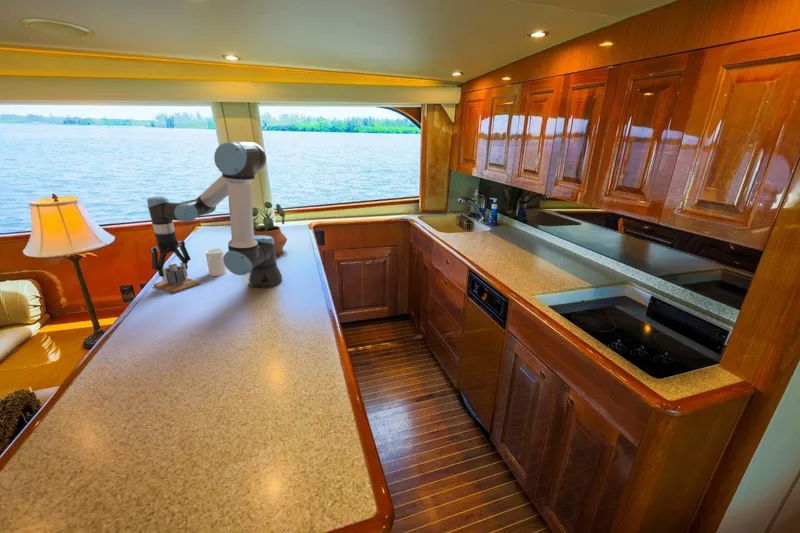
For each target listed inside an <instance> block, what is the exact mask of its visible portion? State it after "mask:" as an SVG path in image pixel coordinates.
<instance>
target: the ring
mask: <svg viewBox="0 0 800 533" xmlns="http://www.w3.org/2000/svg"><path fill="white" fill-rule="evenodd" d="M177 268H178V270H177V271H173V272H170V270H169V267H166V268H164V269H165V272H166V276H167V280H168V283H177V282H181V281H184V280H185V279H186V278H188V276H187V277H186V272H185V268H184V267H181V265H180V266H179V265H177Z"/></svg>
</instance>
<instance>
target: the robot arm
mask: <svg viewBox="0 0 800 533" xmlns="http://www.w3.org/2000/svg"><path fill="white" fill-rule="evenodd" d="M213 156H214V157H213V160H214V163H215V167H216V168H218V170H219V172H220V173H221V174H222V175H221V176H219V177H218V178H217V179H216V180H215V181H214V182H213V183H212V184H210V186H208V187H207V188H206V189H205V190H204V191H203V192H202V193H201V194H200V195H199V196H198V197H197V198H195V199H191V200H187V201H183V202H182V201H181V202H170V201H169V199H168V197H166V196H151V197H148V198H147V199H146V201H147V208H148V212H149V216H150V220H151V224H152V228H153V231H154V237H155V241H156V244H157V245H156V246H154V247H150V249H149V250H150V252H151V268H152V270H155V271H157V273H158V276H159V277H161V281H163V282H164V283H168V280H167V276H166V272H165V269H166V268H164V266H165V261H166V258H167V255H168V254H170V253H174V255H175V256H176V257H177V259H179V260H180V261H181V262H179V263H180V264H179V265H180V266H181V267H184V268H185V272H186V277H187V278H188V276H189V275H188V268H189V267H188V263H189V262H190V261H191V256H190V254H189V252H188V250H187V247H186V244H185V241H183V240H177V234H176V231H175V225H174V221H177V222H178V221H179V222H184V223H186V222H193V221H194V220H195V219H196V218H197V217H200V216H205V215H209V214H211V213H213V212H215V211H216V208H217V205H219V204H220V203H221V202H223V200H224V199H226V197H227V198H228V209H229V210H228V211H229V219H230V221H229V222H230V234H231V239H230V240H229V241H228V242H227V247H228V251H226V252H225V253H224V257H223V261H224V264H225V266H226V269H227V271H229V272H231V273H232V274H233V275H236V276H245V275H247V274H249V278H248V283H249V286H251V287H253V288H259V289H260V288H262V289H263V288H265V289H266V288H270V287H275V286H276V285H277V286H278V284H281V283H282V281H283V276H282V273H281V271H280V269H279V267H278V264H277V255H276V254H275V243H274V239H273V238H272V237H271V236H265V235H256V236H254V232H253V222H254V221H253V220H254V217H253V212H252V209H253V198H252V197H253V194H252V182H253V181H254V180H256V179H255V178H256V177H255V176H256V175H257V174H258V173H259V172H260V171H261V170H262V169H264V168H265V166H266V162H267V155H266V152H265V150H264V149H263V148H262V147H261V146H260V145H259V144H257V143H256V142H253V141H228V142H224V143H222V144H220V145H219V146H218V147H217V148H216V149H215V152H214V155H213ZM178 246H179V249H180V250H179V249H178ZM159 250H160V251H159ZM180 251H181V252H180ZM158 252H159V253H158Z"/></svg>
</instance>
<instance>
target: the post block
mask: <svg viewBox="0 0 800 533" xmlns="http://www.w3.org/2000/svg"><path fill="white" fill-rule="evenodd" d="M177 266H178V265H177V264H176V263H172V264H169V265H168V268H169V270H170V272H173V271H177V270H178V268H177ZM199 284H200V285H201V282H200V281H197V280H195V279H192V278H188V277H187V278H186V279H185V280H184V281H181V282H177V283H164V282H163V280H161V281H159V282H155V283H153V287H156V288H158V289H159V290H160V289H161V290H163V291H167V292H169V293H171V292H172V293H171V294H174V293H175V294H178V293H181V292H182V290H183V291H185V289H186V290H188V288H189V289H191V287H192V288H194V287H197V286H200V285H199ZM196 285H197V286H196ZM180 291H181V292H180ZM177 292H178V293H177Z"/></svg>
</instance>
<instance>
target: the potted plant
mask: <svg viewBox="0 0 800 533" xmlns="http://www.w3.org/2000/svg"><path fill="white" fill-rule="evenodd" d="M263 204H264V207H265V209H266V210H264V211H263V210H262V209H260V208H258V207H252V212H253V232H254V236H256V235H265V236H271V237H272V238H273V239H274V243H275V254H276V256H278V255H281V254H282V253H283V250H284V246H286V243H287V241H288V238H287V237H286V236H285V235H284V233H283V232H282V230H281V228H280V226H277V225H274V221H275V220H274V219H273V218H274V216H272V217H270V216H271V215H272V213H273V212H275V211H276V213H277V214H275V216H276V215H278V216H280V218H281V217H282V218H281V224H282V225H284V224H285V217H286V213H285V211H284V209H283V208H282V206H281V205H280V204H279V203H276V204H275V205H276V206H275V207H273V204H272V203H271V202H270V201H265V202H264V203H263ZM272 207H273V209H272ZM269 209H272V211H270V212H269V211H268V210H269ZM258 214H260V215H261V216H262V217H263V218H261V216H258ZM264 215H265V216H264ZM254 217H255V218H254ZM258 218H259V219H260V220H261V221H260V220H259V222H260V223H262V224H263V225H262V224H260V226H259V225H257V222H256V220H258Z"/></svg>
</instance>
